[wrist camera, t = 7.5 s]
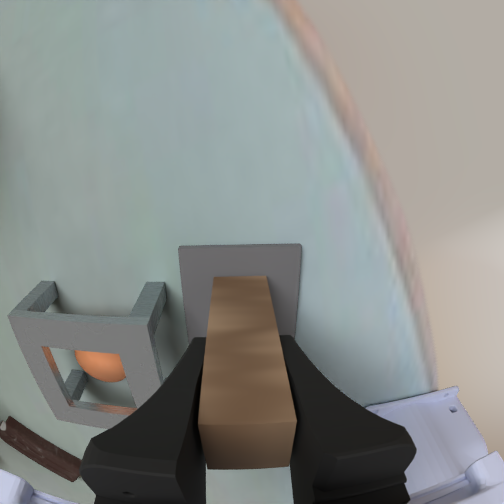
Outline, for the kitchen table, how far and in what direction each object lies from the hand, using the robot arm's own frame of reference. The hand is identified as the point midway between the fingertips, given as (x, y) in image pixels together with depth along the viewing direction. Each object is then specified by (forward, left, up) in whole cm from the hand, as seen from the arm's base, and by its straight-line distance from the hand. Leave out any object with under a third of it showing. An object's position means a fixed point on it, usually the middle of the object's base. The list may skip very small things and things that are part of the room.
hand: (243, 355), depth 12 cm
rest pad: (0, 0, -5) cm, 5 cm away
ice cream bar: (+20, +21, -5) cm, 29 cm away
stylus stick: (0, 0, -4) cm, 4 cm away
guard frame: (+8, +3, -5) cm, 10 cm away
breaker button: (+8, +3, -6) cm, 10 cm away
